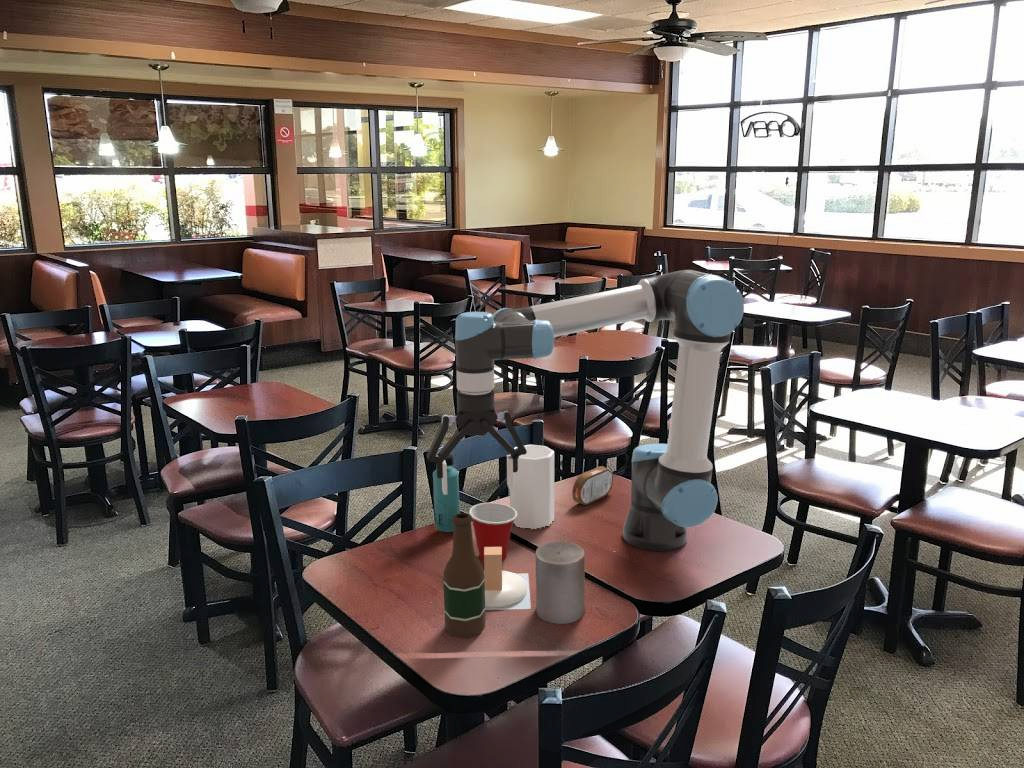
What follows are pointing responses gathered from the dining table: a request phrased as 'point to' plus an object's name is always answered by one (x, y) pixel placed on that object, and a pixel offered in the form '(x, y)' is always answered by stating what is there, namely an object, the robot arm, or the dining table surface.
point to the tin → (592, 485)
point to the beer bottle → (464, 584)
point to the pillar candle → (560, 582)
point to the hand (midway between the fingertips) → (477, 489)
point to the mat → (523, 603)
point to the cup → (534, 488)
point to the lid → (501, 581)
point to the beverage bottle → (446, 498)
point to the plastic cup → (492, 526)
